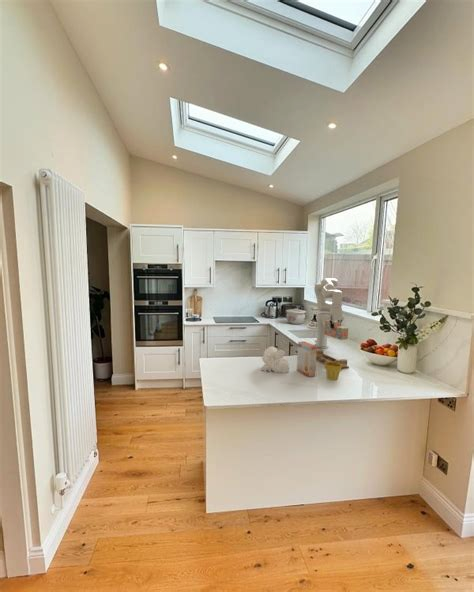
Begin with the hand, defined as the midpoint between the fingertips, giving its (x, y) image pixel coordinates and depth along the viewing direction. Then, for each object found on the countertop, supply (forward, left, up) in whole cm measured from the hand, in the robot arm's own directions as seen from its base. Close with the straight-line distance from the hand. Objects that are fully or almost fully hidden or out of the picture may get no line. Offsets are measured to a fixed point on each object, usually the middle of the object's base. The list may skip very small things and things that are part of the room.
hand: (335, 327), depth 237 cm
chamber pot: (-140, +60, -25) cm, 154 cm away
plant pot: (+35, -32, -25) cm, 54 cm away
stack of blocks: (+1, 0, -8) cm, 8 cm away
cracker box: (+21, -43, -25) cm, 55 cm away
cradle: (+8, -12, -25) cm, 29 cm away
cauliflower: (+8, -61, -25) cm, 67 cm away
